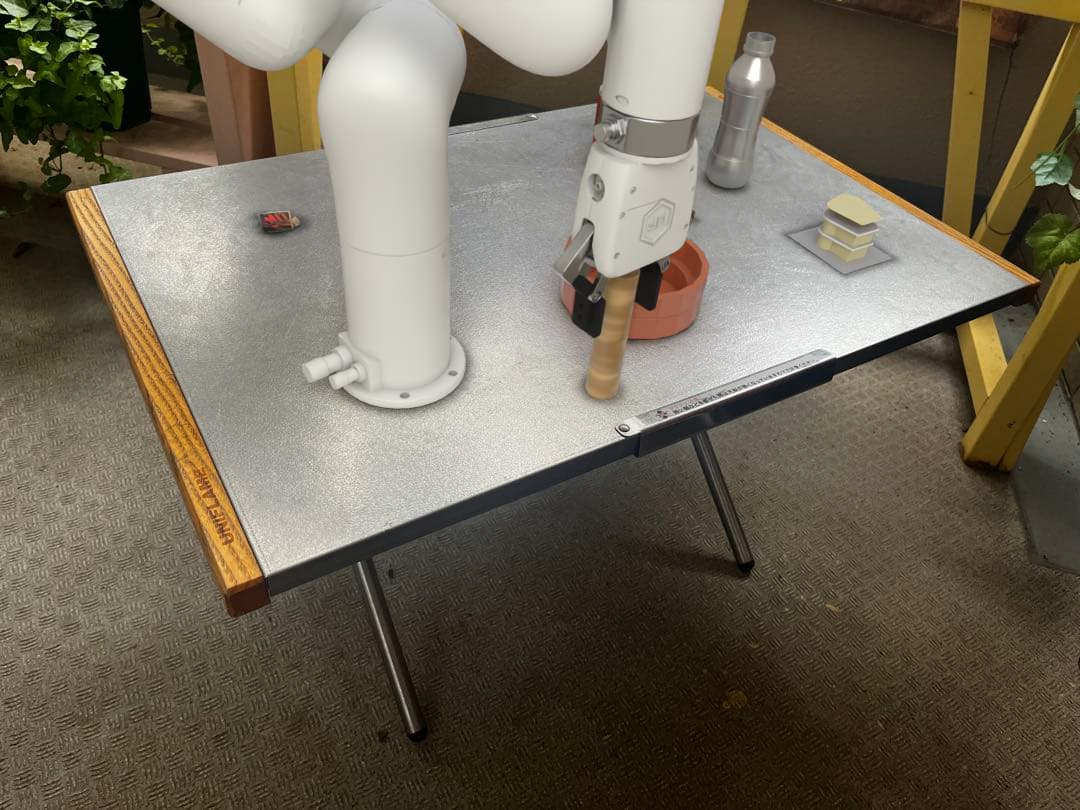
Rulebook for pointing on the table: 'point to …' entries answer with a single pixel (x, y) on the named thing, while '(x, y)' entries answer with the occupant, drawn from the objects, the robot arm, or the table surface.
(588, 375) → the stirring stick
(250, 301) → the table surface
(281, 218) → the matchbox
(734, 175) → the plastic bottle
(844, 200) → the stacked layers on plate
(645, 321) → the bowl
